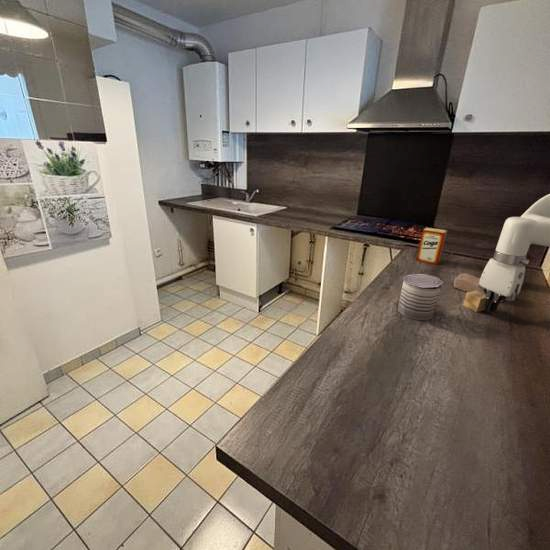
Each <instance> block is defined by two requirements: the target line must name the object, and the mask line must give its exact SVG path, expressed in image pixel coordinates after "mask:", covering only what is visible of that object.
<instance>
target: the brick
mask: <svg viewBox="0 0 550 550" xmlns="http://www.w3.org/2000/svg"><path fill="white" fill-rule="evenodd" d="M480 278H481V277H477V276H475V275H472V274H469V273H463V272H462V273H461V274H459V275H457V276H456V277H455V279H454V281H453V288H456V289H458V290H461V291H464V292H466V293H468V292H473V291H478V292H481V293H483V294H485V293H484V291H483V290H481V289H480V288H479V287H478V286H479V285H480V284H479V282H480ZM495 295H496V293H495ZM503 302H504V300H502V301H500V302H499V303H503Z"/></svg>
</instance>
